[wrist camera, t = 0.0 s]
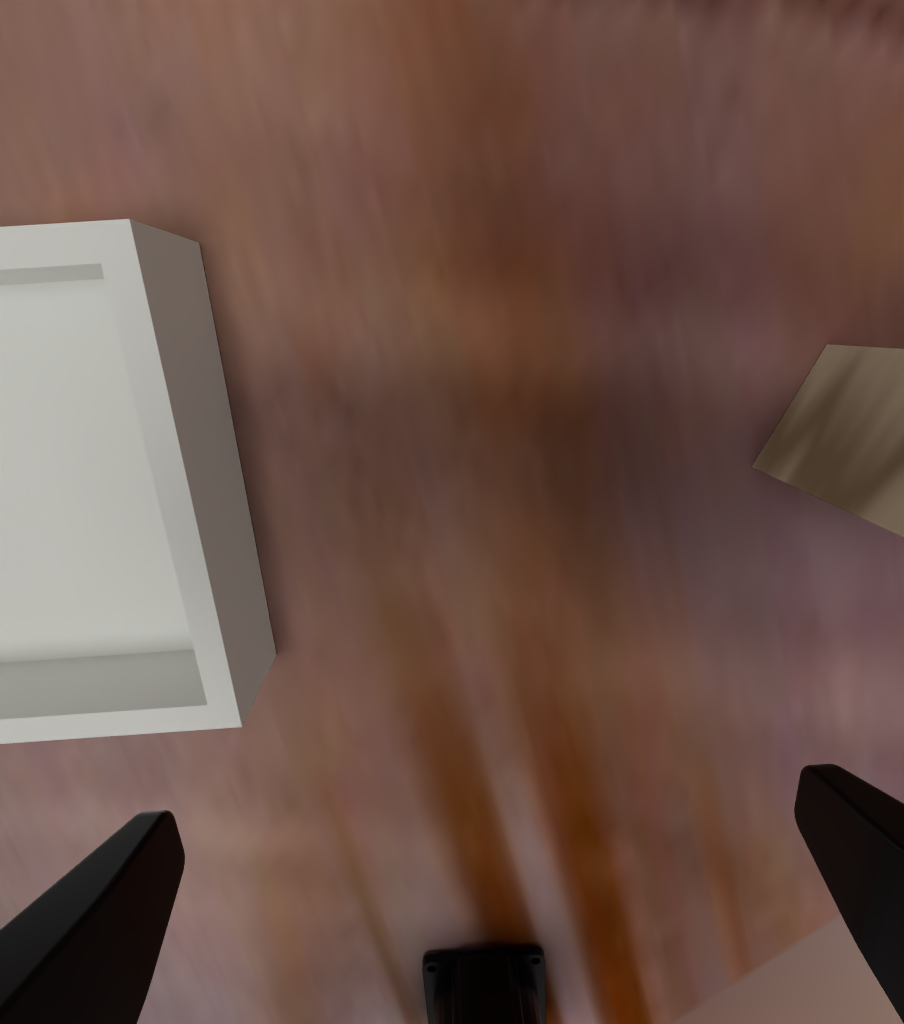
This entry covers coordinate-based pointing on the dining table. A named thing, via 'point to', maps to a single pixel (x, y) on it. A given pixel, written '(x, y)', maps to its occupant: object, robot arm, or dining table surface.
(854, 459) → the birch block
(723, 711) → the dining table surface
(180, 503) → the box
